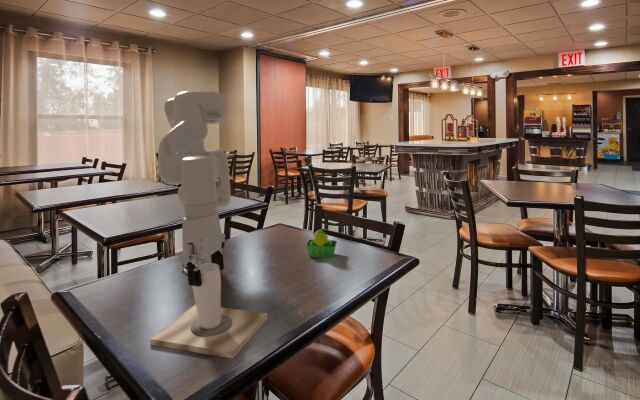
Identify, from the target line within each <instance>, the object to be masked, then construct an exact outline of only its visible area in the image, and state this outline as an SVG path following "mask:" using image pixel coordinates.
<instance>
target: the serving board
mask: <svg viewBox="0 0 640 400" xmlns="http://www.w3.org/2000/svg"><path fill="white" fill-rule="evenodd" d="M267 320H268V313H266V312H260V311H259V312H258V311H252V310H244V309H243V310H242V309H235V308H227V307H221V323H220V325H219V326H217V327H215V328H212V329H203V328H201V327H200V325H199V318H198V313H197V308H196V303H195V304H194V305H193V306H191V307H190V308H188V309H187V310H186V311H185V312H183V313H182V314H181V315H179V316H178V317H176V318H175V319H174V320H173V321H171V322H170V323H169V324H168V325H166V326H165V327H163V328H162V329H161V330H160V331H158V332H156V333H155V334H154V335H153V336H152V337H150V338H149V342H150V345H152V346H157V347H161V348H162V347H163V348H169V349H173V350H174V349H175V350H180V351H184V352H185V351H187V352H192V353H197V354H204V355H208V356H209V355H210V356H215V357H222V358H227V359H235V358H236V356H238V354H239V353H240V351H242V349H243V348H244V346H246V344H247V343H248V342H249V341H250V340H251V339H252V338H253V336H254V335H256V333H257V332H258V330H260V328H261V327H262V326H263V324H264V323H265V322H266V321H267Z"/></svg>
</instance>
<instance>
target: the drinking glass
mask: <svg viewBox="0 0 640 400" xmlns="http://www.w3.org/2000/svg"><path fill="white" fill-rule="evenodd" d="M198 270H200V271H201V281H202V285H201V286H200V287H198V286H192V287H191V288H192V292H193V298H194V302H195V304H196V308H197V313H198V318H199V325H200V327H201V328H203V329H212V328H215V327H217V326H219V325H220V323H221V308H222V297H221V296H222V280H221V279H222V277H221V270H220V269H219V265H217V264H215V263H204V264H200V266H199V269H198Z"/></svg>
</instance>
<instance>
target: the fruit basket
mask: <svg viewBox="0 0 640 400" xmlns="http://www.w3.org/2000/svg"><path fill="white" fill-rule="evenodd" d="M337 243H338V241H337V240H332V239H329V238H328V235H327V233H326V232H325V231H324V230H323V229H318V230H317V231H315V233H314V236H313V239H309V240H308V241H307V242H306V243H305V247H306V250H307V253H308V256H309V257H310V258H329V259H332V258H333V257H334V254H335V251H336V247H337Z"/></svg>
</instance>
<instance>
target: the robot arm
mask: <svg viewBox="0 0 640 400" xmlns="http://www.w3.org/2000/svg"><path fill="white" fill-rule="evenodd" d="M163 107H164V113H165V116H166V118H167V121H168V123H169V125H170V128H171V129H170V130H169V131H168V132H167V133H166V134H165V135H164V136H163V137H162V138H161V140H160V142H159V144H158V148H157V149H158V150H157V159H158V175H159V176H160V179H161V180H162V182H163V183H164V184H165V185H172V186H173V185H174V186H175V185H176V186H177V185H181V186H179V188H178V190H177V197H178V198H177V199H178V202H179V207H180V209H181V214H182V228H181V230H182V231H181V234H182V236H181V237H182V241H181V242H182V244H181V245H182V253H181V255H180V256H179V263H180V264H181V265H182V267H183V272H184V273H185V274H186V275H187V280H188V281H187V282H188V285H189V286H198V287H200V286H201V285H202V281H201V271H200V270H198V269H199V266H200V264H204V263H215V264H217V265H219V269H220V271H223V270H224V269H225V265H224V254H225V250H224V247H225V245H226V244H225V240H226V234H225V233H224V232H222V228H221V227H222V226H221V223H220V217H219V211H218V210H219V209H218V208H225V207H228V206H229V205H230V204H231V199H232V198H231V196H232V195H231V192H232V191H231V183H230V182H231V180H230V171H229V168H230V167H229V161H228V157H227V154H226V152H225V151H224V150H221V149H206V148H205V143H204V140H205V139H206V138H207V136H208V132H209V130H208V125H218V124H220V123H221V122H222V121H223V120H224V118H225V116H226V101H225V99H224V97H223V95H222V94H221V93H219V92H218V91H214V90H185V91H181V92H178V93H177V94H176V95H175V96H174V97H172V98H169V99H166V100H165V102H164V106H163Z"/></svg>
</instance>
